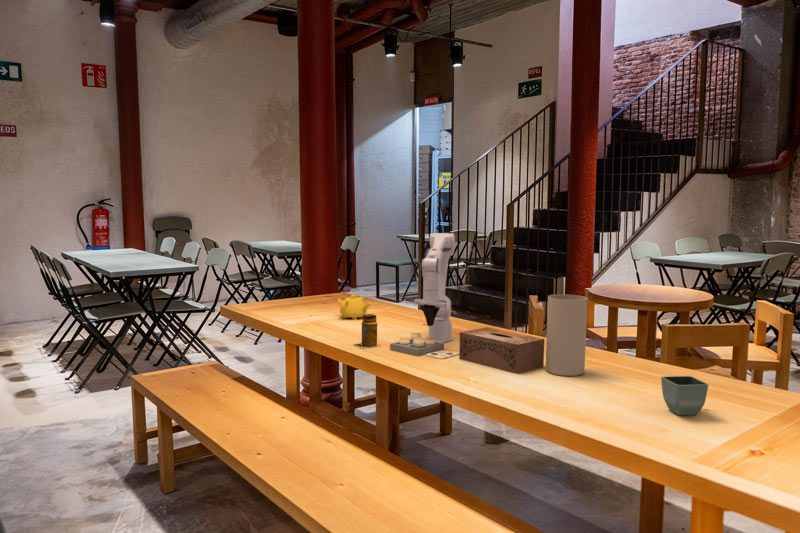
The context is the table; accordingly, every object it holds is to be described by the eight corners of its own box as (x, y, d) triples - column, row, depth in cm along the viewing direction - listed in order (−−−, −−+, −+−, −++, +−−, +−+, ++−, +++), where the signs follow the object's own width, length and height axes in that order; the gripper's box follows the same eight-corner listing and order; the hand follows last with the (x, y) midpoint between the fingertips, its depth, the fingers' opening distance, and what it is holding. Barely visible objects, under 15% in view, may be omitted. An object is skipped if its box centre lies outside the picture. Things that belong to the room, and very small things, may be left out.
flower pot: (658, 408, 174) (660, 375, 173) (689, 407, 175) (691, 375, 174) (675, 418, 165) (676, 385, 164) (707, 418, 166) (709, 384, 165)
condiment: (381, 346, 245) (381, 315, 244) (362, 348, 241) (362, 317, 240) (371, 342, 251) (371, 312, 250) (353, 345, 247) (353, 314, 246)
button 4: (429, 345, 242) (429, 337, 242) (437, 346, 240) (437, 338, 239) (422, 346, 240) (422, 338, 239) (430, 348, 237) (430, 340, 237)
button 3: (418, 345, 238) (418, 337, 237) (426, 346, 235) (426, 338, 235) (411, 346, 235) (411, 338, 234) (419, 348, 232) (419, 340, 232)
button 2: (415, 339, 247) (415, 332, 247) (423, 341, 244) (423, 333, 244) (408, 341, 244) (408, 333, 244) (416, 342, 241) (416, 335, 241)
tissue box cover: (459, 359, 226) (459, 332, 225) (485, 353, 236) (486, 327, 235) (517, 374, 207) (517, 344, 206) (543, 367, 217) (544, 338, 216)
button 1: (404, 344, 242) (404, 337, 242) (412, 346, 240) (412, 338, 239) (397, 346, 239) (397, 338, 239) (404, 348, 237) (405, 340, 236)
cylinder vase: (537, 369, 214) (540, 295, 211) (568, 365, 219) (570, 293, 216) (561, 378, 202) (564, 300, 200) (592, 374, 207) (595, 299, 205)
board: (416, 343, 250) (416, 337, 250) (444, 349, 241) (444, 343, 240) (390, 349, 239) (390, 343, 239) (418, 356, 230) (418, 349, 229)
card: (442, 351, 238) (442, 349, 238) (459, 354, 233) (459, 353, 233) (424, 355, 231) (424, 354, 231) (442, 359, 225) (442, 357, 225)
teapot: (381, 317, 307) (381, 294, 306) (359, 323, 292) (359, 299, 291) (347, 313, 318) (348, 291, 317) (325, 318, 303) (325, 295, 302)
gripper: (409, 288, 239) (408, 324, 241) (439, 292, 230) (438, 329, 231) (421, 287, 245) (420, 321, 246) (451, 290, 235) (450, 326, 236)
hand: (430, 325), depth 239 cm, fingers closed
